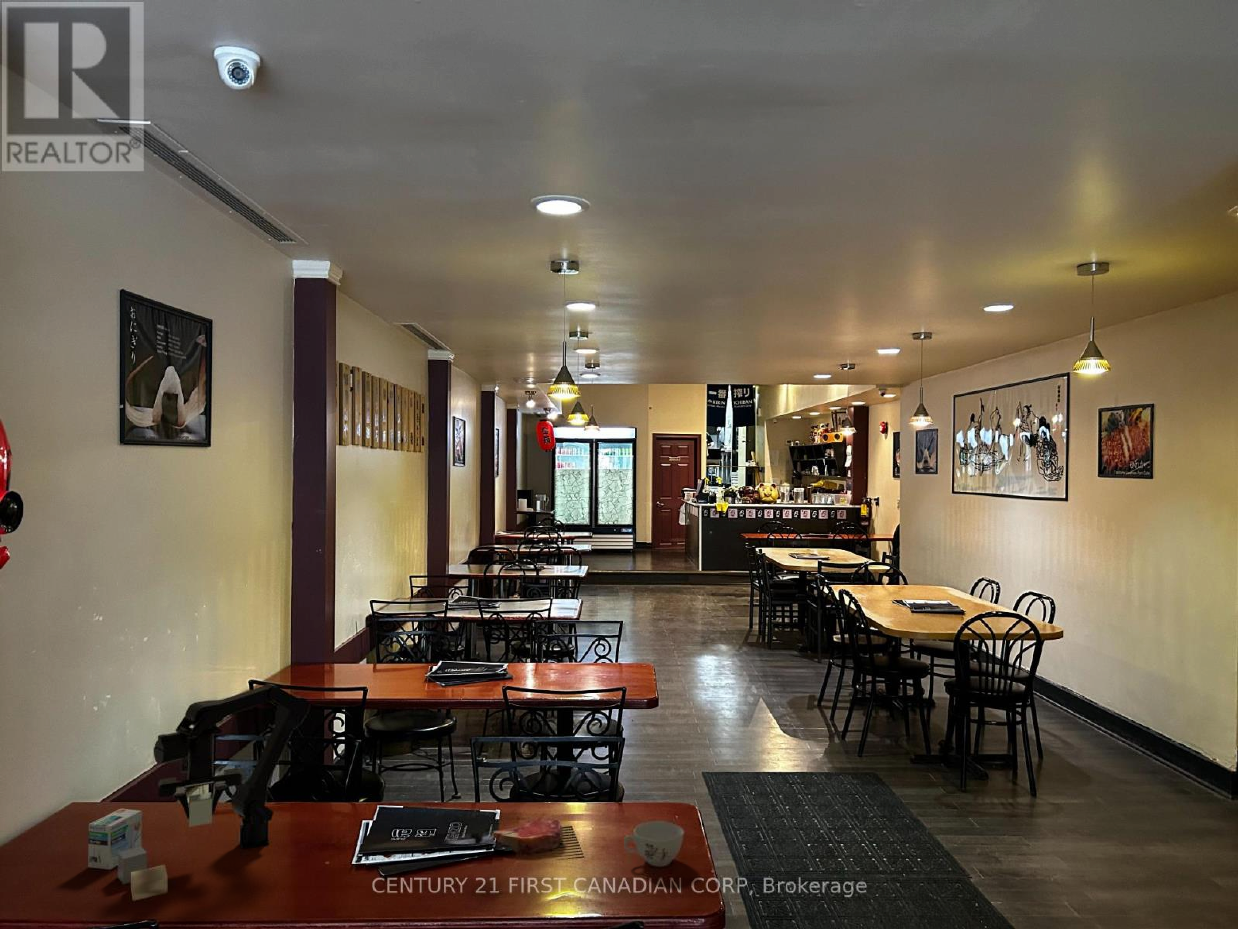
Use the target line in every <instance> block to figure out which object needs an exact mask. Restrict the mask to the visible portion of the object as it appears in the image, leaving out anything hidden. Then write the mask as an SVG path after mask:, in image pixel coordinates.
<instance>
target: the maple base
mask: <svg viewBox="0 0 1238 929" xmlns="http://www.w3.org/2000/svg"><path fill="white" fill-rule="evenodd" d="M130 891H131V897H132V901H133V902H134V901H139V900H142V899H147V898H150V897H154V896H158V895H164V894H167V893H168V873H167V869H166V865H165V864H162V865H157V866H154V867H149V868H148V867H147V869H143V870H139V871H134V872H131V882H130Z"/></svg>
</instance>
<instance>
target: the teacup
mask: <svg viewBox="0 0 1238 929" xmlns="http://www.w3.org/2000/svg"><path fill="white" fill-rule="evenodd" d="M684 834H685V831H684V829H683V828H682V827H681V826H679V825H677V824H674V823H672V822H669V821H664V820H654V821H646V822H642V823H640V824H638V825H637V826H635V828H634V829H633V835H632V834H629V835H627V836H625V838H624V839H623V840H624V841H623V845H624V848H625V850H626V851H627V852H628V853H630V854H636V855H639V856H641V857H642V858H643V859H644V860H645V861H646V862H647V864H648V865H651V866H653V867H661V868H662V867H665V866H668V865H670V864H671V863H672V861H673V860H674V859H675V858H676V857H677V855H678V854H679V851H680V849H681V846H682V845H683V844H682V843H683V840H684ZM629 841H632V842H633V844H635V846H636V848H637V850H634V849H632V848H630V847H629V846H628V842H629Z"/></svg>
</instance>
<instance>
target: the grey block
mask: <svg viewBox="0 0 1238 929" xmlns="http://www.w3.org/2000/svg"><path fill="white" fill-rule="evenodd" d="M147 865H148V852H147V851H146V850H145V849H144V847H142V845H141V846H140V847H136V848H133V849H129V850H125V851H121V852H118V865H117V878H118V879H119V880H120V882H121V883H122V885H126V884H129V883H130V884H131V872H134V871H139V870H143V869H148V866H147Z"/></svg>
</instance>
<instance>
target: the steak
mask: <svg viewBox="0 0 1238 929" xmlns="http://www.w3.org/2000/svg"><path fill="white" fill-rule="evenodd" d="M492 833H493V834H492V838H493V837H494V838H496V840H497V841H498V842H501V843H502V844H505V845H509V846H512V847H513V849H514V851H515V852H518V853H517V854H519V853H521V854H520V855H528V856H532V855H534V854H535V855H536V854H537V855H538V854H543V853H548V852H549V853H550V852H551V854H547V856H550V855H552V852H553V851H555V852H556V853H555V855H558V856H555V858H557V859H556V861H561V860H562V861H563V860H564V858H562V857H566V858H565V860H573V859H583V858H584V859H586V858H585V856H584V853H583V850H582V847H581V846H580V843H579V840H578V838H577V836H576V832H575V830H574V828H573V825H568V826H567V825H566V826H562V822H561V821H560V820H558V819H555V818H544V819H542V820H541V818H540V817H537V818H534V819H529V820H528V821H525V822H523V823H522V824H521V825H519V826H515V827H513V828H507V829H501V830H494V831H492ZM494 838H493V839H494ZM565 842H566V843H565ZM563 845H565V846H563ZM562 848H566V849H562ZM572 850H573V851H572ZM562 851H563V852H562ZM557 852H558V853H557ZM573 853H574V854H573ZM562 854H563V855H562ZM566 854H567V855H566ZM581 855H582V856H581ZM571 856H573V857H571ZM574 856H575V857H574ZM559 857H560V858H559ZM567 857H568V858H567ZM551 861H553V859H552V860H551Z"/></svg>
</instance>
